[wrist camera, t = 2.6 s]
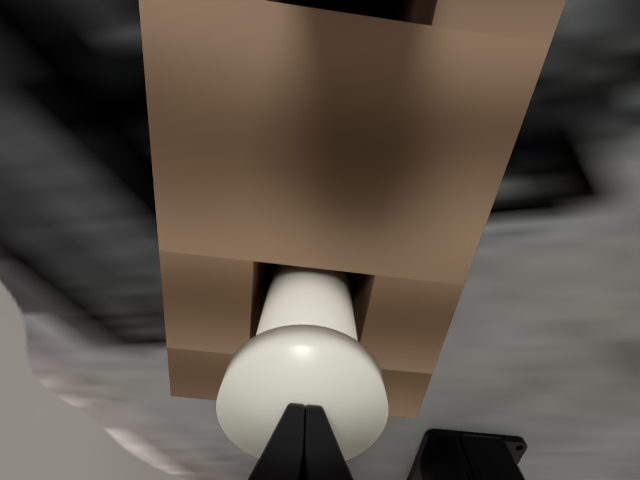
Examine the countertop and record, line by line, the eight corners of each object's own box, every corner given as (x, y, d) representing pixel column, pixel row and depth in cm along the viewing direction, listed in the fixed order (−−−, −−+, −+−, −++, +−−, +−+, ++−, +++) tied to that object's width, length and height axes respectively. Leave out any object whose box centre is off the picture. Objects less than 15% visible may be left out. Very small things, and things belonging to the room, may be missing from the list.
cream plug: (351, 330, 14) (370, 474, 9) (256, 320, 14) (216, 461, 9) (369, 244, 13) (406, 358, 7) (261, 231, 13) (215, 338, 7)
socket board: (392, 336, 18) (416, 418, 14) (209, 317, 18) (170, 396, 13) (533, -179, 10) (711, -406, 5) (203, -239, 10) (94, -545, 5)
